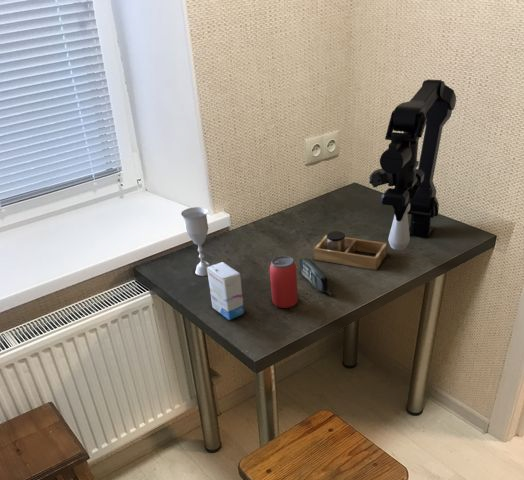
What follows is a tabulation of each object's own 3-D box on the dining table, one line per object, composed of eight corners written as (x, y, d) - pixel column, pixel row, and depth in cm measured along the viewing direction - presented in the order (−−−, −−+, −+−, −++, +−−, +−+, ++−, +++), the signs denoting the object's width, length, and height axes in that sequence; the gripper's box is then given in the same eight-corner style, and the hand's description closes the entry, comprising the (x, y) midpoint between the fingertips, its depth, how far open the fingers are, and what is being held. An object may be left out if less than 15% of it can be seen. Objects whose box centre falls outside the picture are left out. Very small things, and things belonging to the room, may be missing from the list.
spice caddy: (326, 245, 169) (326, 234, 166) (386, 254, 161) (387, 243, 159) (314, 259, 162) (313, 248, 160) (376, 270, 155) (376, 258, 152)
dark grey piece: (297, 258, 154) (323, 281, 142) (307, 255, 155) (334, 277, 143) (298, 274, 157) (324, 297, 145) (308, 271, 158) (334, 294, 146)
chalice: (220, 266, 163) (211, 208, 152) (211, 278, 158) (201, 218, 147) (197, 264, 166) (187, 206, 155) (187, 275, 161) (176, 216, 150)
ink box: (245, 313, 143) (241, 272, 136) (229, 321, 141) (223, 280, 133) (227, 300, 149) (222, 260, 141) (211, 307, 146) (205, 267, 139)
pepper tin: (330, 249, 166) (330, 230, 162) (347, 252, 164) (347, 232, 160) (324, 257, 163) (324, 237, 159) (341, 260, 161) (341, 240, 157)
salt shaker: (408, 252, 153) (413, 207, 145) (387, 251, 154) (390, 206, 146) (409, 242, 157) (414, 197, 149) (388, 241, 158) (392, 197, 150)
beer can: (271, 296, 148) (267, 256, 141) (296, 294, 148) (294, 253, 141) (273, 310, 143) (270, 269, 135) (299, 307, 143) (297, 265, 136)
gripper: (385, 144, 150) (382, 200, 160) (361, 169, 138) (360, 228, 147) (427, 147, 146) (421, 204, 155) (406, 174, 133) (402, 234, 143)
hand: (401, 217), depth 150 cm, fingers closed on salt shaker, 4 cm apart
